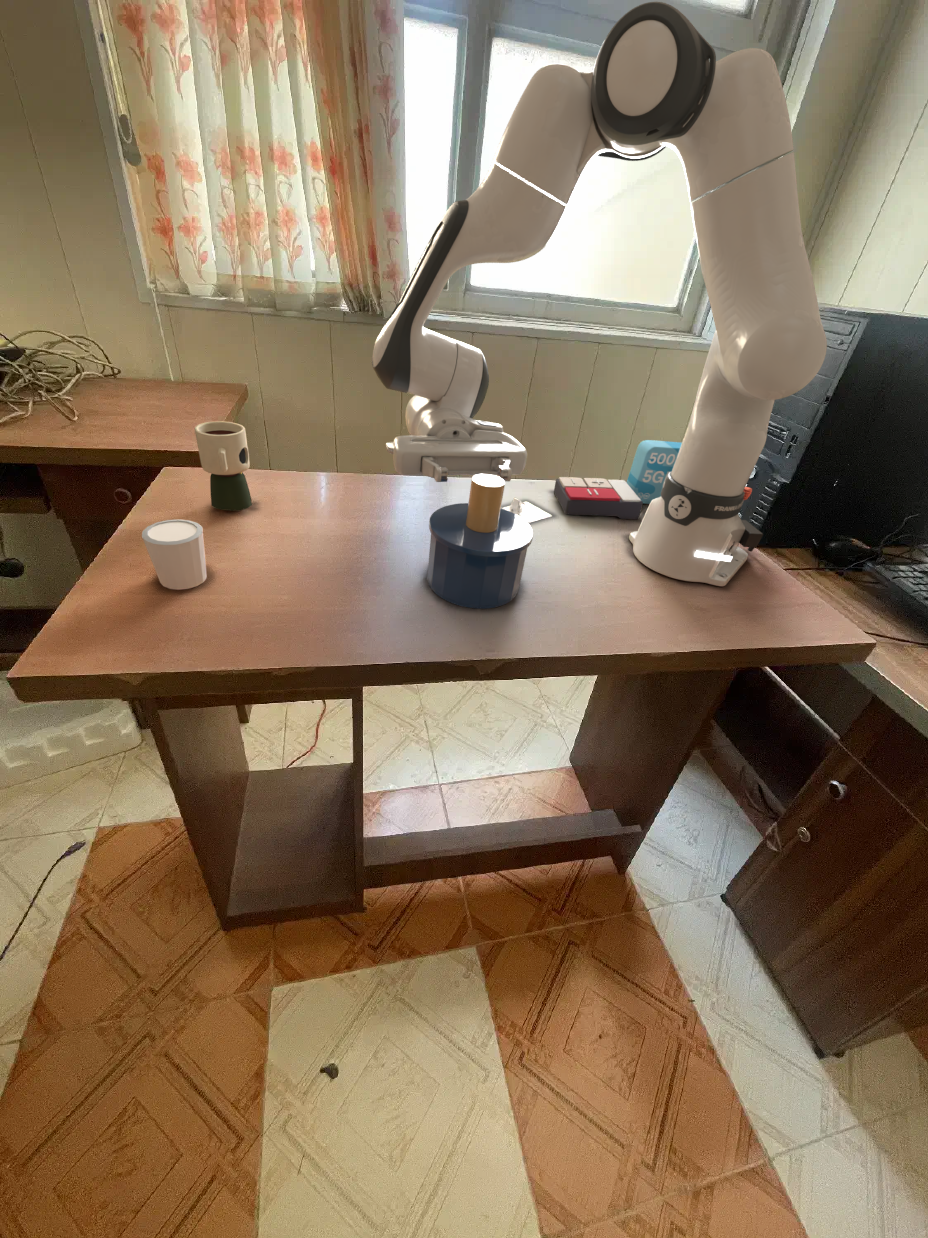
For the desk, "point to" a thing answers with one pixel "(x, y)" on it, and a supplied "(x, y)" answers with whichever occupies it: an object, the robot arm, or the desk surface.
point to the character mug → (225, 463)
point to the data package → (652, 468)
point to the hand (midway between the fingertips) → (475, 476)
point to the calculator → (597, 497)
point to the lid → (482, 522)
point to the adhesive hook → (515, 504)
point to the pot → (473, 576)
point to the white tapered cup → (177, 552)
